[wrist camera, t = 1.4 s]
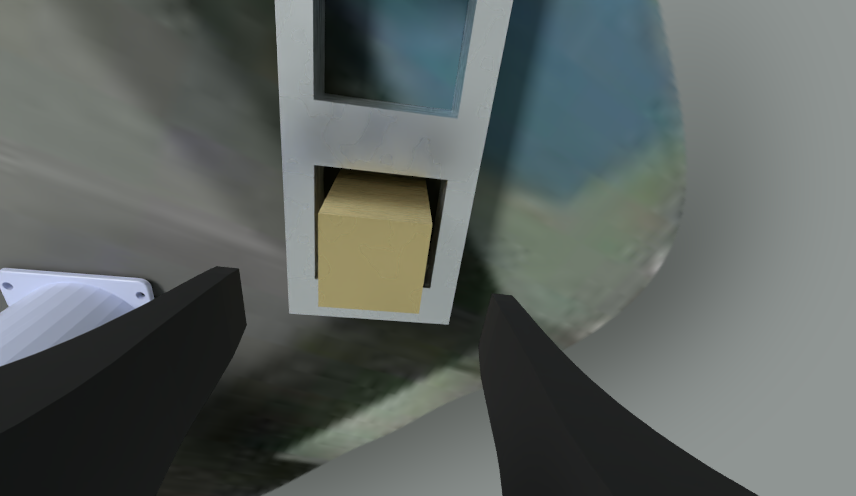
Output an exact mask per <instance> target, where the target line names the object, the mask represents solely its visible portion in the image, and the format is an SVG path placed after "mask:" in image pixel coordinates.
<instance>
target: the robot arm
mask: <svg viewBox="0 0 856 496" xmlns="http://www.w3.org/2000/svg"><path fill="white" fill-rule="evenodd" d="M0 289H1V291H2V293H3V295H4V297H5V300H6V302H7V304H8V306H9V307H8V308H7V309H5V310H4V311H2V312H1V313H0V496H156V494H157V492H158V490H159V488H160V485H161V483H162V481H163V479H164V477H165V475H166V473H167V471H168V469H169V467H170V465H171V463H172V461H173V459H174V457H175V454H176V452H177V450H178V448H179V446H180V445H181V443H182V441H183V439H184V437H185V436H186V434H187V432H188V430H189V429H190V427H191V425H192V424H193V422H194V420H195V419H196V417H197V415H198V414H199V412H200V411H201V409H202V407H203V406H204V404H205V402H206V401H207V399H208V397H209V396H210V394H211V393H212V391H213V389H214V388H215V386H216V384H217V383H218V381H219V379H220V378H221V376H222V374H223V373H224V371H225V369H226V368H227V366H228V364H229V363H230V361H231V359H232V358H233V356H234V353H235V351H236V349H237V347H238V345H239V342H240V340H241V338H242V335H243V333H244V330H245V328H246V325H247V324H246V317H245V310H244V302H243V295H242V288H241V281H240V273H239V269H238V268H228V267H218V266H216V267H214V268H212V269H210V270H208V271H206V272H204V273H202V274H200V275H198V276H196V277H194V278H192V279H190V280H188V281H187V282H185V283H183V284H181V285H179V286H177V287H176V288H174V289H172V290H170V291H168V292H166V293H164V294H163V295H161V296H159V297H157V298H155V299H154V295H153V291H152V287H151V284H150V283H149V282H148V281H147V280H145V279H142V278H131V277H118V276H105V275H92V274H79V273H66V272H53V271H40V270H27V269H14V268H3V269H1V270H0ZM140 292H141V293H143V294H144V295H142V294H141V293H140ZM478 347H479V361H480V372H481V380H482V385H483V390H484V395H485V399H486V404H487V408H488V414H489V418H490V423H491V428H492V432H493V437H494V441H495V446H496V451H497V457H498V463H499V469H500V478H501V486H502V495H503V496H758V495H756V494H755V493H753V492H751V491H749V490H748V489H746V488H745V487H743V486H741V485H739V484H738V483H736V482H734V481H733V480H731V479H729V478H727V477H726V476H724V475H722V474H721V473H719V472H717V471H715V470H714V469H712V468H710V467H709V466H707V465H706V464H704V463H702V462H701V461H700V460H698V459H696V458H695V457H693V456H692V455H690V454H689V453H687V452H686V451H684V450H683V449H681V448H679V447H678V446H676V445H675V444H674V443H672V442H671V441H669V440H668V439H666V438H665V437H663V436H662V435H660V434H659V433H658V432H656V431H655V430H653V429H652V428H651V427H649V426H648V425H647V424H645V423H644V422H643V421H641V420H640V419H639V418H637V417H636V416H635V415H633V414H632V413H631V412H629V411H628V410H627V409H625V408H624V407H623V406H622V405H620V404H619V403H618V402H617V401H615V400H614V399H613V398H612V397H611V396H609V395H608V394H607V393H606V392H605V391H604V390H603V389H601V388H600V387H599V386H598V385H597V384H596V383H594V382H593V381H592V380H591V379H590V378H589V377H588V376H587V375H585V374H584V373H583V372H582V371H581V370H580V369H579V368H578V367H577V366H576V365H575V364H574V363H573V362H572V361H571V360H570V359H569V358H568V357H567V356H566V355H565V354H564V353H563V352H562V351H561V350H560V349H559V348H558V347H557V346H556V345H555V343H554V342H553V341H552V340H551V339H550V338H549V337H548V336H547V335H546V334H545V332H544V331H543V330H542V329H541V328H540V327H539V326H538V325H537V323H536V322H535V321H534V320H533V319H532V318H531V316H530V315H529V314H528V313H527V312H526V311H525V309H524V308H523V307H522V306H521V305H520V304H519V302H518V301H517V300H516V299H515V298H514V297H513V296H512V295H503V294H493V293H492V294H491V298H490V302H489V306H488V310H487V314H486V318H485V322H484V326H483V330H482V333H481V337H480V341H479V345H478Z"/></svg>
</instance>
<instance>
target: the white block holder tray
mask: <svg viewBox="0 0 856 496" xmlns="http://www.w3.org/2000/svg"><path fill="white" fill-rule="evenodd" d="M512 4H513V0H468V7H467V13H466V20H465V26H464V33H463V39H462V46H461V52H460V59H459V65H458V72H457V78H456V85H455V91H454V98H453V104H452V110H446V109H439V108H431V107H424V106H416V105H409V104H401V103H394V102H386V101H379V100H371V99H364V98H356V97H349V96H341V95H334V94H326V93H325V0H275V14H276V36H277V58H278V80H279V101H280V123H281V145H282V166H283V188H284V210H285V231H286V253H287V275H288V296H289V313H291V314H305V315H320V316H334V317H348V318H362V319H377V320H391V321H405V322H420V323H434V324H448V325H449V320H450V315H451V310H452V305H453V300H454V295H455V290H456V285H457V280H458V275H459V270H460V265H461V260H462V255H463V250H464V245H465V240H466V235H467V230H468V225H469V220H470V215H471V210H472V204H473V199H474V194H475V189H476V184H477V179H478V174H479V169H480V164H481V159H482V154H483V149H484V144H485V139H486V134H487V129H488V124H489V119H490V114H491V109H492V104H493V99H494V94H495V89H496V84H497V79H498V74H499V69H500V64H501V59H502V54H503V49H504V44H505V39H506V34H507V29H508V24H509V19H510V14H511V9H512ZM324 166H328V167H337V168H346V169H355V170H364V171H373V172H382V173H390V174H399V175H408V176H417V177H426V178H435V179H441V183H440V189H439V196H438V202H437V209H436V215H435V222H434V228H433V235H432V241H431V248H430V254H429V261H428V265H426V271H425V277H424V284H423V290H422V297H421V304H420V310H419V314H414V313H401V312H387V311H373V310H359V309H345V308H331V307H318V213H319V211H320V209H321V207H322V205H323V203H324Z"/></svg>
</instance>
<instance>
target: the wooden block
mask: <svg viewBox="0 0 856 496" xmlns="http://www.w3.org/2000/svg"><path fill="white" fill-rule="evenodd" d="M431 231H432V219H431V212H430V206H429V199H428V193H427V187H426V180H425V178H416V177H407V176H398V175H389V174H380V173H371V172H362V171H353V170H344V169H341V170H340V172H339V173H338V175H337V177H336V179H335V181H334V183H333V185H332V187H331V189H330V191H329V193H328V195H327V197H326V199H325V201H324V203H323V205H322V207H321V209H320V211H319V213H318V307H331V308H345V309H359V310H373V311H387V312H401V313H414V314H419V310H420V304H421V297H422V290H423V284H424V277H425V271H426V264H427V257H428V251H429V244H430V237H431Z"/></svg>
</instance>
